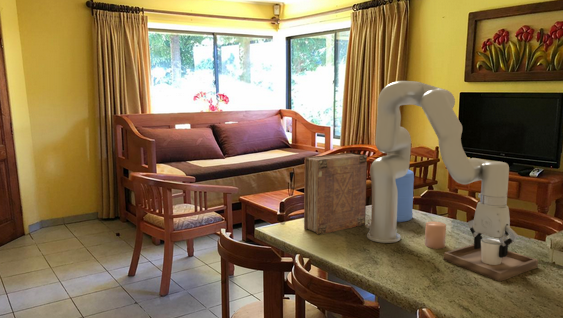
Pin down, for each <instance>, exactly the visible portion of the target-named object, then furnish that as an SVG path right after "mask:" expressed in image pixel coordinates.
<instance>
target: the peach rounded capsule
mask: <svg viewBox="0 0 563 318" xmlns="http://www.w3.org/2000/svg"><path fill="white" fill-rule="evenodd" d="M424 230H425V231H424V233H425V234H424V246H425V247H427V248H430V249H436V250H437V249H438V250H439V249H440V250H441V249H444V248H445V247H446V235H447V224H446V223H444V222H440V221H433V220H432V221H426V222H425V229H424Z"/></svg>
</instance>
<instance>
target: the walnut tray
mask: <svg viewBox="0 0 563 318" xmlns="http://www.w3.org/2000/svg"><path fill="white" fill-rule="evenodd" d="M443 261H446V262H449V263H450V264H453V265H456V266H458V267H462V268H464V269H466V270H469V271H472V272H474V273H477V274H479V275H482V276H484V277H487V278H490V279H493V280H495V281H497V282H502V281H505V280H508V279H510V278H513V277H516V276H518V275H521V274H523V273H526V272H528V271H531V270H534V269H536V268H538V265H539V260H538V259H537V258H534V257H531V256H528V255H527V256H526V255H524V254H521V253H518V252H514V251H511V250H509V249H508V254H507V256H506V257H503V258H502V259H501V264H498V265H491V264H486V263H484V262H482V256H481V248H479V249H474V243H472V244H469V245H465V246H463V247H459V248H456V249H452V250H448V251H445V252H443Z"/></svg>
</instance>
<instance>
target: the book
mask: <svg viewBox="0 0 563 318" xmlns="http://www.w3.org/2000/svg"><path fill="white" fill-rule="evenodd" d="M367 161H368V155H367V154H363V153H357V152H343V153H333V154H332V153H331V154H326V155H325V154H324V155H315V156H314V155H312V156H305V157H304V172H303V173H304V177H303V178H304V179H303V180H304V181H303V182H304V184H303V186H304V188H303V189H304V192H303V193H304V196H303V198H304V201H303V202H304V203H303V208H304V211H303V212H304V213H303V214H304V215H303V229H304V230H309V231H312V232H314V233H316V234H317V235H318V236H320V235H325V234H330V233H334V232H339V231H342V230H343V231H344V230H347V229H348V230H349V229H351V228H355V227H356V226H357V227H360V226H366V211H367V210H366V209H367V208H366V207H367V204H366V202H367V201H366V200H367V173H368V172H367V170H368V169H367V167H368V166H367V165H368V162H367Z"/></svg>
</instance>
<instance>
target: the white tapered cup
mask: <svg viewBox="0 0 563 318" xmlns="http://www.w3.org/2000/svg"><path fill="white" fill-rule="evenodd" d="M500 245H502V244H501V242H500V240H499V238H494V237H484V238H483V237H482V239H481V256H482V262H484V263H486V264H491V265H498V264H501V259H502V258H500V257H499V247H500Z"/></svg>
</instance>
